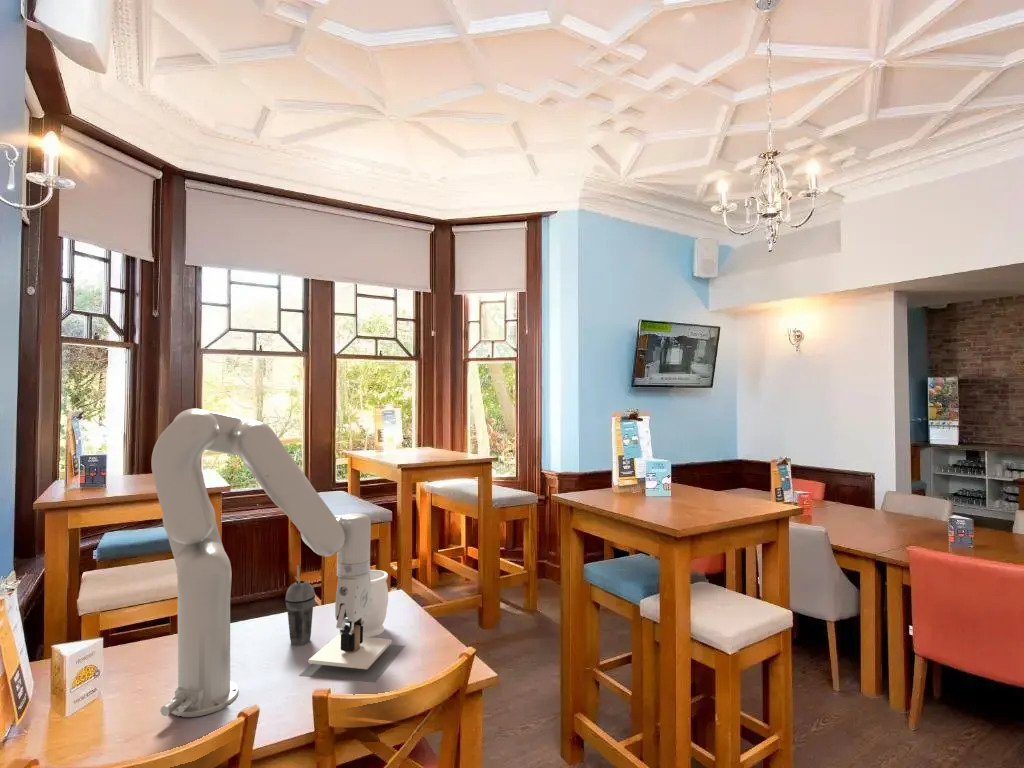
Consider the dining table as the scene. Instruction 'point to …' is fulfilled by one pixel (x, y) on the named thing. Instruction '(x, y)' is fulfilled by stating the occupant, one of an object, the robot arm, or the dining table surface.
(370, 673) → the mat
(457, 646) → the dining table surface
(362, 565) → the robot arm
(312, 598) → the beverage cup
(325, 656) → the lid
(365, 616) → the jar
